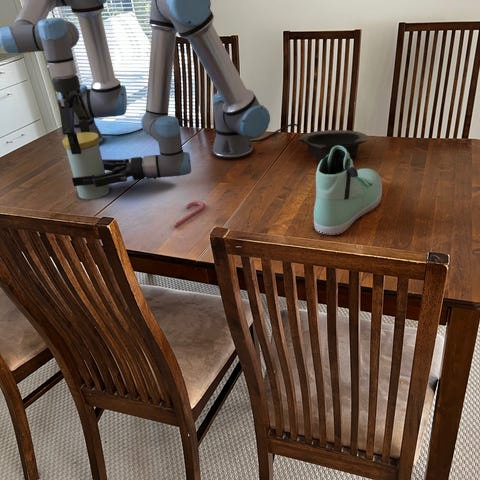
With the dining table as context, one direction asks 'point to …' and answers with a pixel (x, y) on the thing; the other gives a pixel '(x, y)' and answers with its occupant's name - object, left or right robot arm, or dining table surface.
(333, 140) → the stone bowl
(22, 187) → the dining table surface
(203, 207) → the candy cane
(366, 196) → the sneaker
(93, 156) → the jar
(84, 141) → the lid
